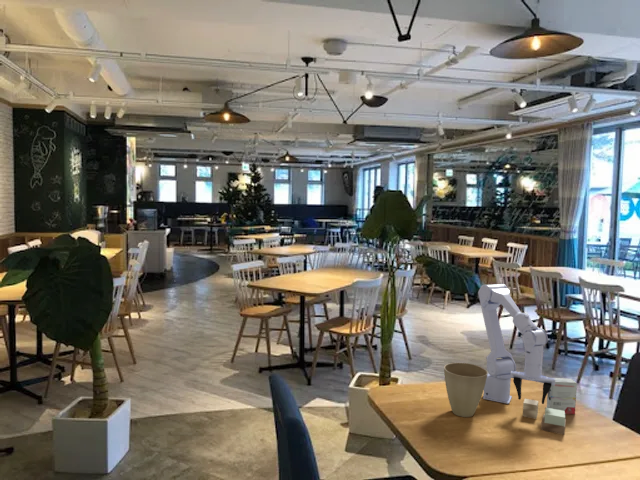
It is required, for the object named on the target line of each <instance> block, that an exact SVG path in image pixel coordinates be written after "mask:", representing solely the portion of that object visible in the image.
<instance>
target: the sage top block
mask: <svg viewBox="0 0 640 480" xmlns="http://www.w3.org/2000/svg"><path fill="white" fill-rule="evenodd" d="M544 415H545V423H549V424H554V425H559V426H565V427H566V424H565V419H566V414H565V411H562V410H557V409H551V408H547V406H546V407H545V408H544Z"/></svg>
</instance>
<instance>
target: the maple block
mask: <svg viewBox="0 0 640 480" xmlns="http://www.w3.org/2000/svg"><path fill="white" fill-rule="evenodd" d="M538 412H539V400H536V399H535V400H534V399H530V398H524V399H523V403H522V417H525V418H529V419H532V420H533V419H534V420H537V418H538Z"/></svg>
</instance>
